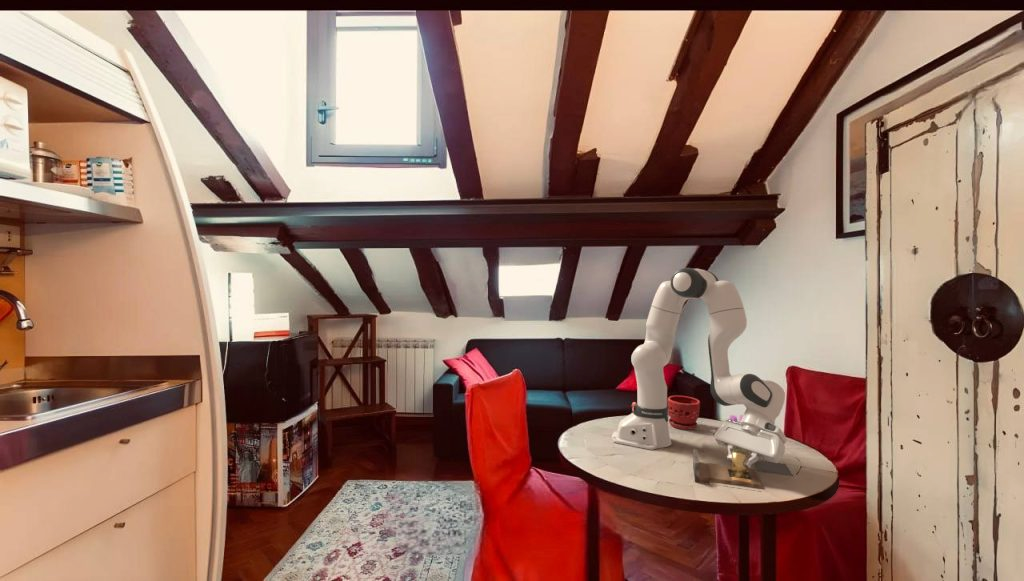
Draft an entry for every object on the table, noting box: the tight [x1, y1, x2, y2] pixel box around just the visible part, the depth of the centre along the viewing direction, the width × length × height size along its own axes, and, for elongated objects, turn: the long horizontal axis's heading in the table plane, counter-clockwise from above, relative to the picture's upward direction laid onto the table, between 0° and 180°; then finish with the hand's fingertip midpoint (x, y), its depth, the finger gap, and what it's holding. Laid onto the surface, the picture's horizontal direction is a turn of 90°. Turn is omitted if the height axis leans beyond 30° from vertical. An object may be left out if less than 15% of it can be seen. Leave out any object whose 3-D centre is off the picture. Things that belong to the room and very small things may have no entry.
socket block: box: [692, 448, 762, 493], centre depth 133 cm, size 18×12×6 cm, turn 69°
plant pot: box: [667, 395, 701, 430], centre depth 184 cm, size 13×13×12 cm
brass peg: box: [731, 450, 747, 479], centre depth 132 cm, size 4×4×8 cm
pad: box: [752, 460, 794, 477], centre depth 139 cm, size 10×10×1 cm
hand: (737, 463), depth 131 cm, fingers closed on brass peg, 4 cm apart
